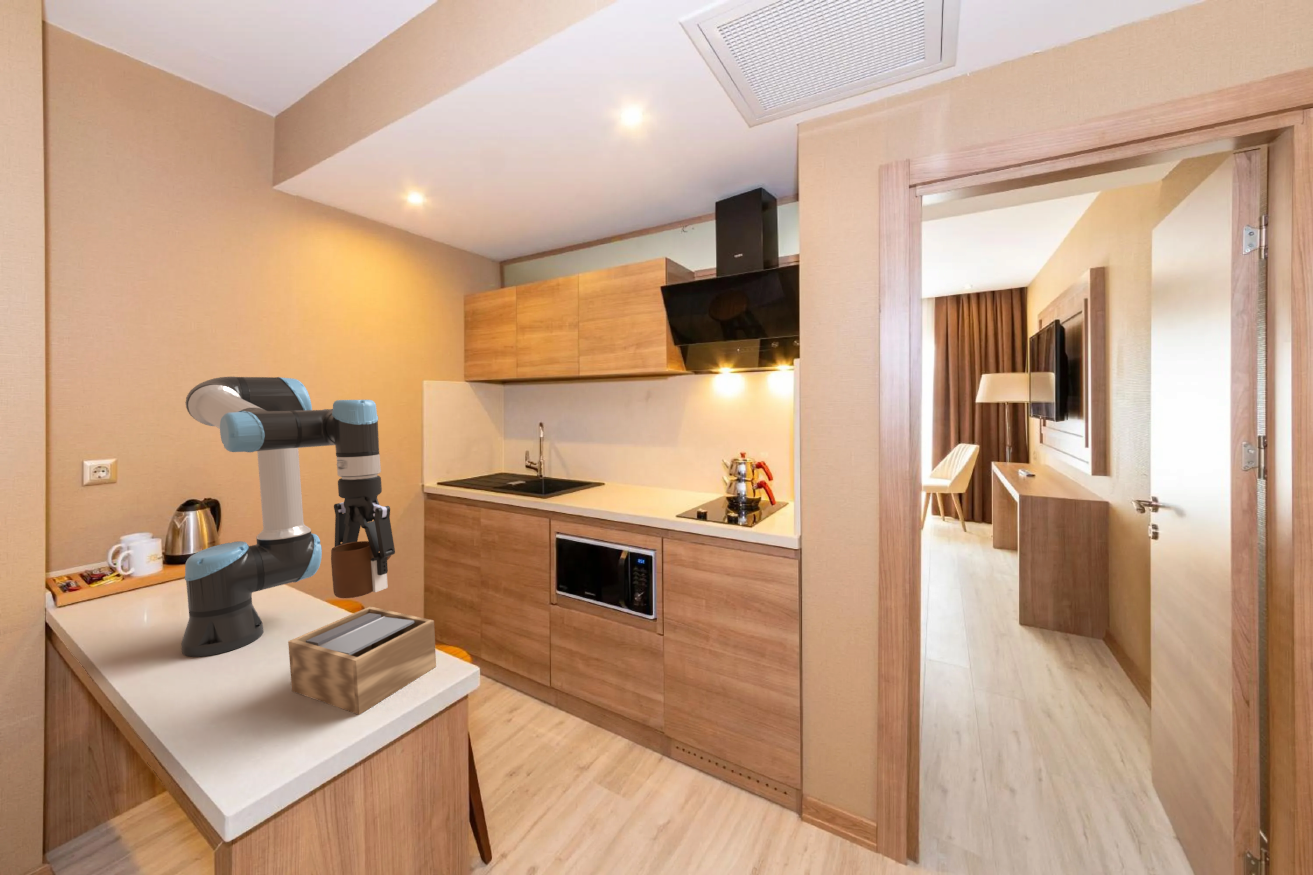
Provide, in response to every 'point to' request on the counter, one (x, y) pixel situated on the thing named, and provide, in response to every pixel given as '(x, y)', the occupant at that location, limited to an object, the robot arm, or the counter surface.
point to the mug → (352, 569)
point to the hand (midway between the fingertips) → (366, 586)
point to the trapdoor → (359, 633)
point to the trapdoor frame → (362, 664)
